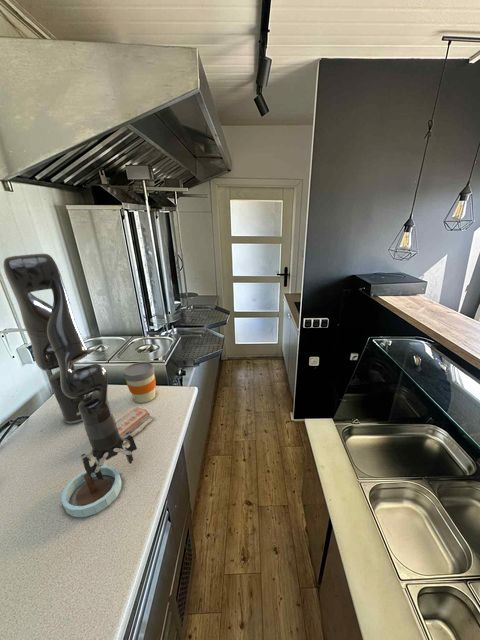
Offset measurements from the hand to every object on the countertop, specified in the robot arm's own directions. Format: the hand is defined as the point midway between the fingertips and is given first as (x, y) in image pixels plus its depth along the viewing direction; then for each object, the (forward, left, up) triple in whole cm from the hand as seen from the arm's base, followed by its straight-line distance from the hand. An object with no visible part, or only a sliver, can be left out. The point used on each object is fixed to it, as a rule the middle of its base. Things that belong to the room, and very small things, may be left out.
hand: (116, 470), depth 89 cm
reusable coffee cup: (-38, +25, -4) cm, 46 cm away
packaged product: (-21, +11, -4) cm, 24 cm away
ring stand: (0, -7, -4) cm, 8 cm away
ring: (0, -7, -4) cm, 8 cm away
